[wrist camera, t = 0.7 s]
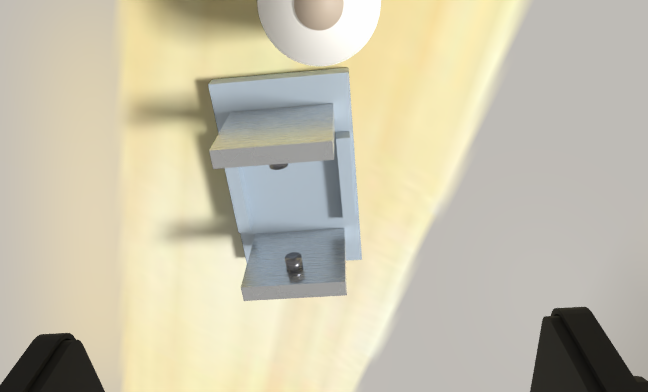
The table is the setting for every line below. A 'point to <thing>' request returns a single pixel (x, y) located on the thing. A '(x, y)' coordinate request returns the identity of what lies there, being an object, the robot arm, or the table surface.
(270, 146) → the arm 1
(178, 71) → the table surface
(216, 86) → the holder
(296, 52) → the roll
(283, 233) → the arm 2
